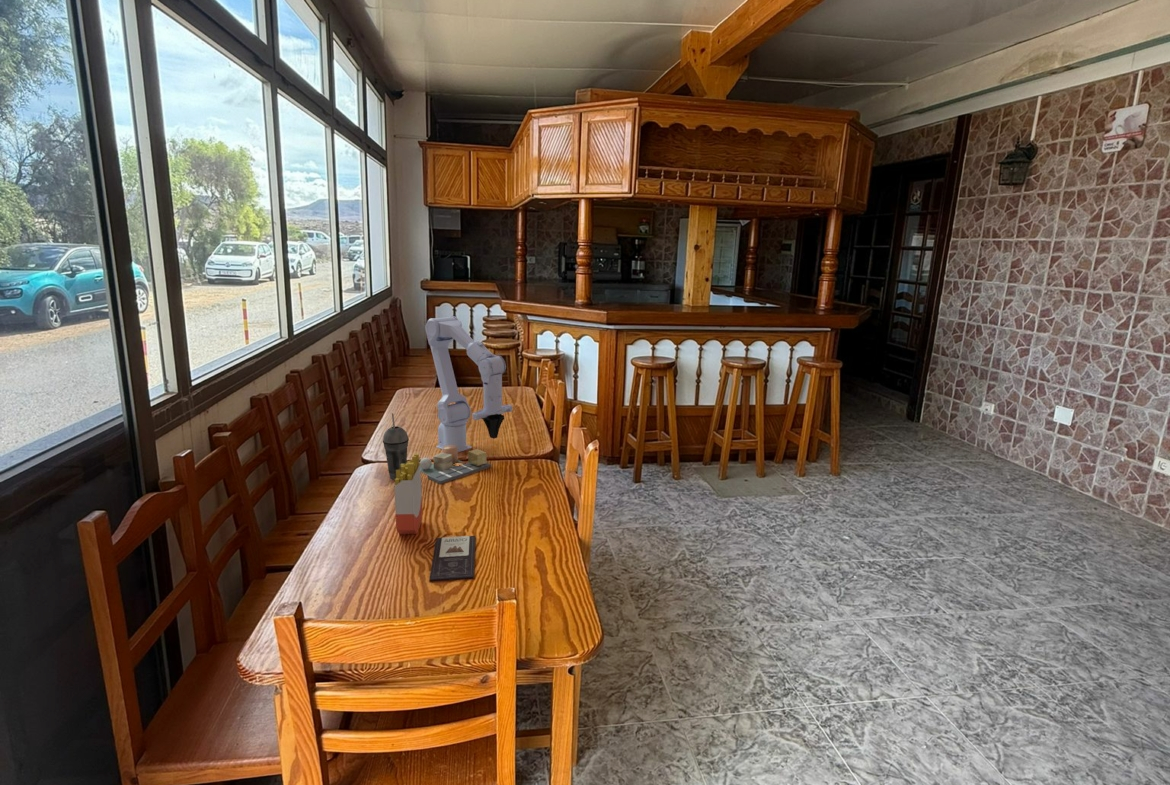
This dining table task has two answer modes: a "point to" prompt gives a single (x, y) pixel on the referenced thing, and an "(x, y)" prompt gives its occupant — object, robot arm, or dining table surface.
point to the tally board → (457, 472)
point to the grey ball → (425, 463)
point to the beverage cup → (395, 448)
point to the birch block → (442, 461)
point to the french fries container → (408, 497)
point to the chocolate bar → (453, 559)
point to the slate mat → (432, 470)
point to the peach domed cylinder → (451, 452)
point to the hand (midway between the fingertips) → (493, 437)
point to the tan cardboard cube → (477, 457)
